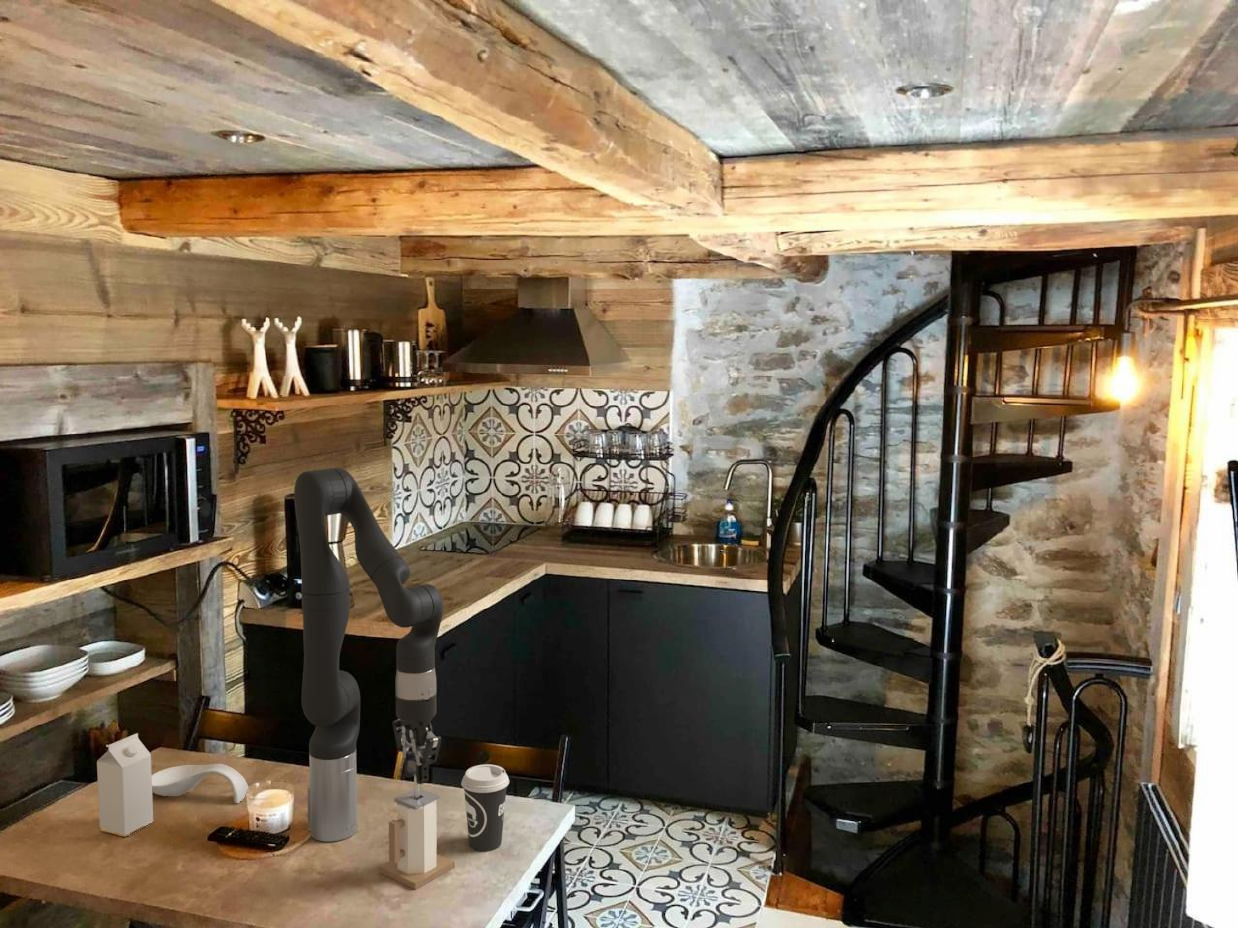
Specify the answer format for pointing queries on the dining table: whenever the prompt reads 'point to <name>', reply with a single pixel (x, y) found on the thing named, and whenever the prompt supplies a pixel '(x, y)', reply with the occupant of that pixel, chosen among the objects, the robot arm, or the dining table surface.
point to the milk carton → (125, 786)
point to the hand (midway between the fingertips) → (416, 778)
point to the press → (415, 842)
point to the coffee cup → (485, 805)
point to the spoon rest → (195, 779)
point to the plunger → (412, 769)
